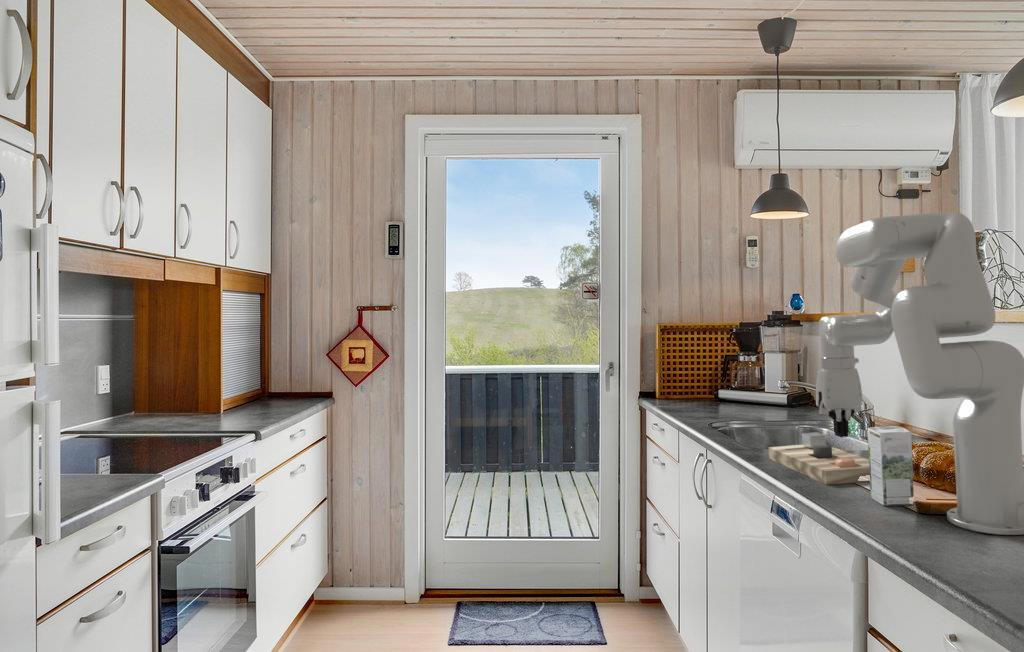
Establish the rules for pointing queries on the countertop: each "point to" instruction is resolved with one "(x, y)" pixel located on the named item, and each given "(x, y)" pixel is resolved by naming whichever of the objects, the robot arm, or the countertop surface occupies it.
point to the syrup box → (890, 465)
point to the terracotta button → (844, 462)
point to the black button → (822, 451)
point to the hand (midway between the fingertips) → (841, 435)
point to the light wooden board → (820, 464)
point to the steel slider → (813, 439)
